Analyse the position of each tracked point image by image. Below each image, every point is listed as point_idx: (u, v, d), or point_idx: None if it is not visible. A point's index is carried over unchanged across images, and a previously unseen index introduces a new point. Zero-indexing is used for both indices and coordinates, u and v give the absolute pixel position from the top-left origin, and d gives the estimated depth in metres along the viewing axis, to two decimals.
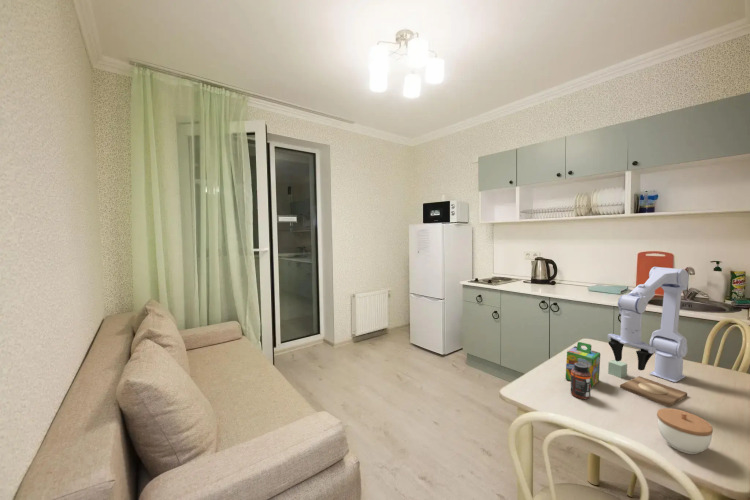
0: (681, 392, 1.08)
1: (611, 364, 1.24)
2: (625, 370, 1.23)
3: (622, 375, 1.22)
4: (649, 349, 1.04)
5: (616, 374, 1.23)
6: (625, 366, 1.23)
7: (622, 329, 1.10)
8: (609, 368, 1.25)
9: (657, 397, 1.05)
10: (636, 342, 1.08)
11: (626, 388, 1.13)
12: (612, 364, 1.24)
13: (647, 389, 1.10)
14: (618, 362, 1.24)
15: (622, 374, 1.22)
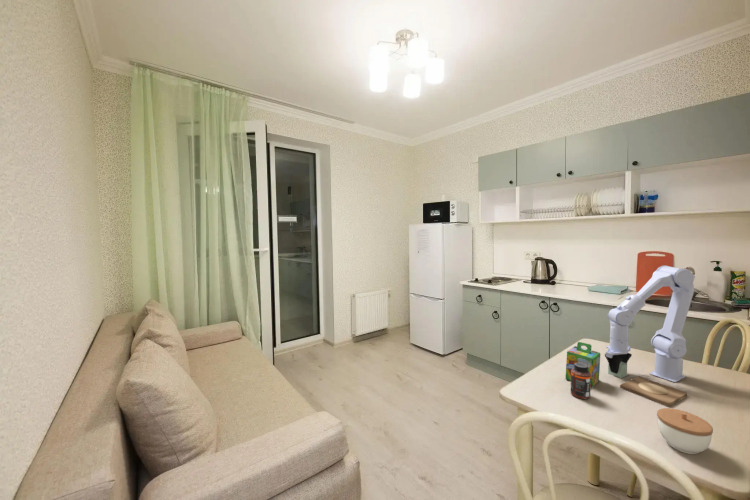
0: (681, 392, 1.08)
1: None
2: (625, 370, 1.23)
3: (622, 375, 1.22)
4: None
5: (616, 374, 1.23)
6: (625, 366, 1.23)
7: None
8: (609, 368, 1.25)
9: (657, 397, 1.05)
10: (611, 348, 1.24)
11: (626, 388, 1.13)
12: None
13: (647, 389, 1.10)
14: None
15: (622, 374, 1.22)
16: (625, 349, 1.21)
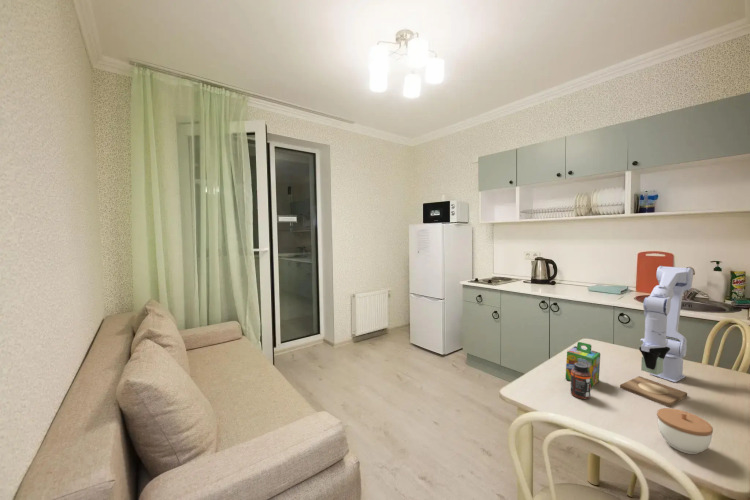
0: (681, 392, 1.08)
1: None
2: (661, 366, 1.09)
3: (658, 371, 1.09)
4: None
5: (651, 370, 1.09)
6: (661, 361, 1.09)
7: None
8: (643, 364, 1.11)
9: (657, 397, 1.05)
10: (647, 341, 1.10)
11: (626, 388, 1.13)
12: None
13: (647, 389, 1.10)
14: None
15: (658, 371, 1.08)
16: (663, 342, 1.07)
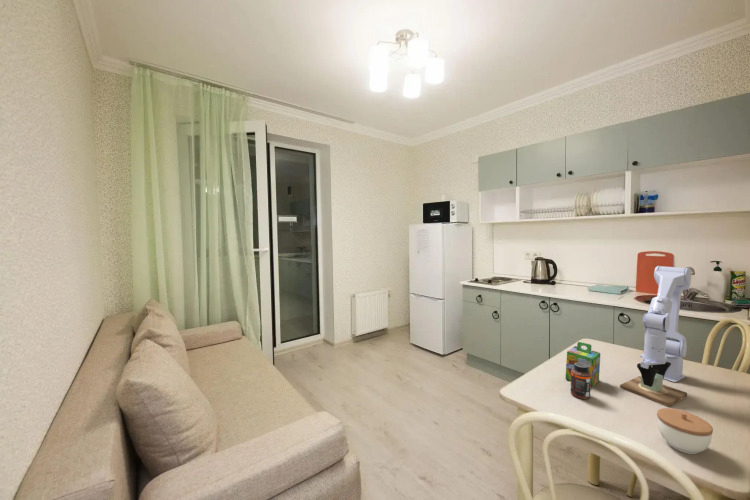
0: (681, 392, 1.08)
1: None
2: (661, 383, 1.10)
3: (657, 388, 1.09)
4: None
5: (650, 387, 1.10)
6: (661, 378, 1.10)
7: None
8: (642, 381, 1.12)
9: (657, 397, 1.05)
10: (646, 357, 1.10)
11: (626, 388, 1.13)
12: None
13: (647, 389, 1.10)
14: None
15: (657, 388, 1.09)
16: (663, 358, 1.07)
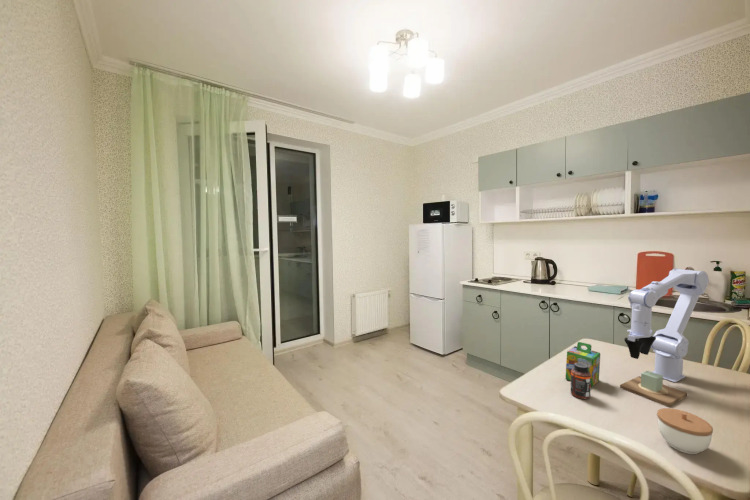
0: (681, 392, 1.08)
1: (644, 376, 1.11)
2: (661, 383, 1.10)
3: (657, 388, 1.09)
4: None
5: (650, 387, 1.10)
6: (661, 378, 1.10)
7: None
8: (642, 381, 1.12)
9: (657, 397, 1.05)
10: (633, 332, 1.17)
11: (626, 388, 1.13)
12: (646, 376, 1.11)
13: (647, 389, 1.10)
14: (652, 374, 1.11)
15: (657, 388, 1.09)
16: (648, 332, 1.14)
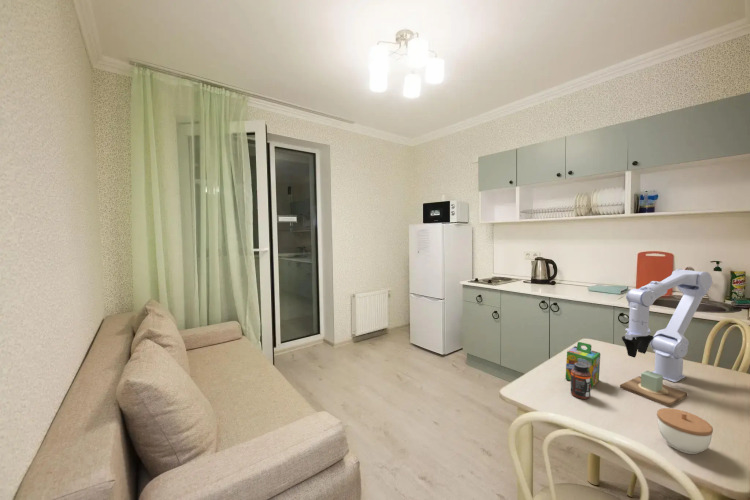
0: (681, 392, 1.08)
1: (644, 376, 1.11)
2: (661, 383, 1.10)
3: (657, 388, 1.09)
4: None
5: (650, 387, 1.10)
6: (661, 378, 1.10)
7: None
8: (642, 381, 1.12)
9: (657, 397, 1.05)
10: (631, 330, 1.18)
11: (626, 388, 1.13)
12: (646, 376, 1.11)
13: (647, 389, 1.10)
14: (652, 374, 1.11)
15: (657, 388, 1.09)
16: (646, 331, 1.15)
